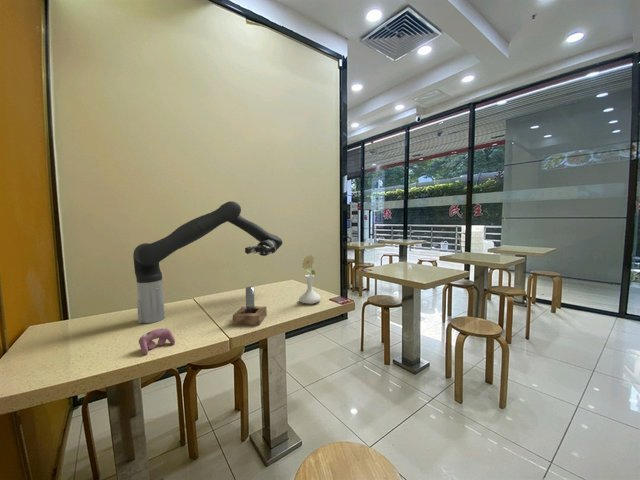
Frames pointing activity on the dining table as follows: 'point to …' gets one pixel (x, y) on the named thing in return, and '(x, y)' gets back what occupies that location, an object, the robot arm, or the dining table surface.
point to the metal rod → (250, 300)
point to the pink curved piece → (158, 333)
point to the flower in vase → (309, 283)
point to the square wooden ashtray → (249, 316)
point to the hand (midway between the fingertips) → (256, 251)
